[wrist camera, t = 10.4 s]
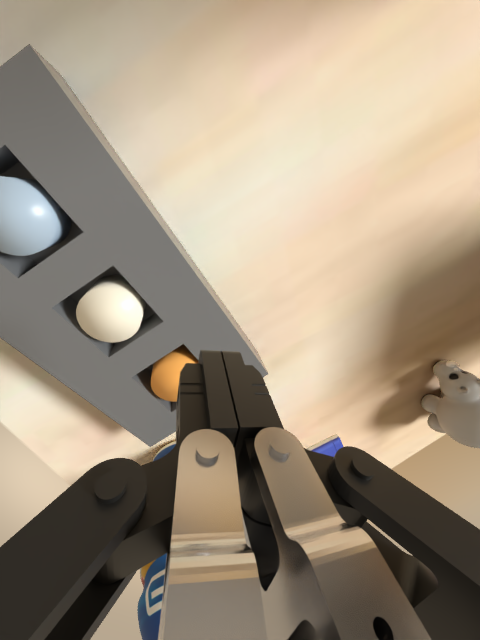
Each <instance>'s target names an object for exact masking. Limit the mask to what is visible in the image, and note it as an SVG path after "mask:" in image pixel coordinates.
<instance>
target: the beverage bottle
mask: <svg viewBox="0 0 480 640" xmlns="http://www.w3.org/2000/svg"><path fill="white" fill-rule="evenodd" d="M175 445H176V441H174V442H171V443H169V444H167V445H166V446H164V447H163V448H161V449H160V450H159V451H158V452H157V454H156V455H155V457H154V459H153V461H156V460H158V459H160V458H162V457H164V456H165V455H167V454H168V453H169V452H170V451H171V450H172V449H173V448H174V447H175ZM153 461H152V462H153ZM166 557H167V553H166V554H164V555H163V556H161V557H159V558H157V559H156V560H154V561H152V562H150V563H149V564H147V565H145V566H143V567H142V568H140V577H141V581H142V584H143V587H144V589H143V593H142V595H141V597H140V599H139V603H138V620H139V627H140V631H141V635H142V639H143V640H158V634H159V625H160V617H161V607H162V598H163V587H164V577H165V567H166Z"/></svg>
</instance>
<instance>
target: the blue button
mask: <svg viewBox="0 0 480 640" xmlns="http://www.w3.org/2000/svg"><path fill="white" fill-rule="evenodd" d="M70 227H71V218H70V217H69V215H68V214H67V213H66V212H65V211H64V210H63V209H62V208H61V207H60V205H59V204H58V203H57V202H56V201H55V200H54V199H53V198H52V196H51V195H50V194H49V193H48V192H47V191H46V190H45V189H44V188H43V186H42V185H41V184H40V183H39V182H38V181H37V180H34V179H29V178H18V177H4V176H0V252H3V253H6V254H10V255H16V256H26V255H32V254H35V253H37V252H40V251H42V250H44V249H46V248H48V247H51V246H53V245H55V244H57V243H59V242H61V241H62V240H63V239H65V237H66V236H67V235H68V233H69V231H70Z"/></svg>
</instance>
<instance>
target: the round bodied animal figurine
mask: <svg viewBox="0 0 480 640" xmlns="http://www.w3.org/2000/svg"><path fill="white" fill-rule="evenodd" d="M458 366H460V365H459V364H458V363H457V362H455V361H451V360H449V361H445V360H442V361H439V362H437V363H436V364H435V365H434V368H433V371H434V374H435V375H436V377H437V378H438V379H439V384H440V389H441V398H442V399H441V398H439V397H437V396H435V395H430V394H429V395H425V396H424V397H423V399H422V402H421V405H422V407H423V408H424V409H425V410H426V411H428V412H430V413H432V414H430V416H429V417H428V425H429V426H430V427H431V428H432V429H433V430H435V431H438V432H441V433H446V434H448V435H449V436H450V437H451V438H452V439H454V440H455V441H457V442H459V443H461V444H463V445H466V446H470V447H474V448H480V379H479V378H477V377H476V376H475V375H473V374H471V373H469V372H466V371H463V370H461V369H460V368H459V367H458Z"/></svg>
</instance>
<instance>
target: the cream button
mask: <svg viewBox="0 0 480 640" xmlns="http://www.w3.org/2000/svg"><path fill="white" fill-rule="evenodd" d="M145 306H146V301H145V300H144V299H143V298H142V297H141V296H140V295H139V294H138V292H137V291H136V290H135V289H134V288H133V287H132V286H131V285H130V284H129V282H128V281H127V280H126V279H125V278H124V277H123V276H118V275H111V276H106V277H103V278H101V279H99V280H98V281H97V282H96V283H95V284H94V285H93V286H92V287H91V288H90V289H89V290H88V291H87V293H86V294H85V295H84V296H83V297H82V298H81V299H80V301H79V303H78V305H77V309H76V317H77V320H78V323H79V325H80V326H81V328H82V329H83V330H84V331H85V332H86V333H87V334H88V335H90V336H91V337H93V338H95V339H97V340H100V341H104V342H112V343H113V342H121V341H124V340H127V339H129V338H130V337H132V336H133V335H134V334H135V333H136V332H137V331H138V329H139V327H140V325H141V321H142V318H143V314H144V310H145Z"/></svg>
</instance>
